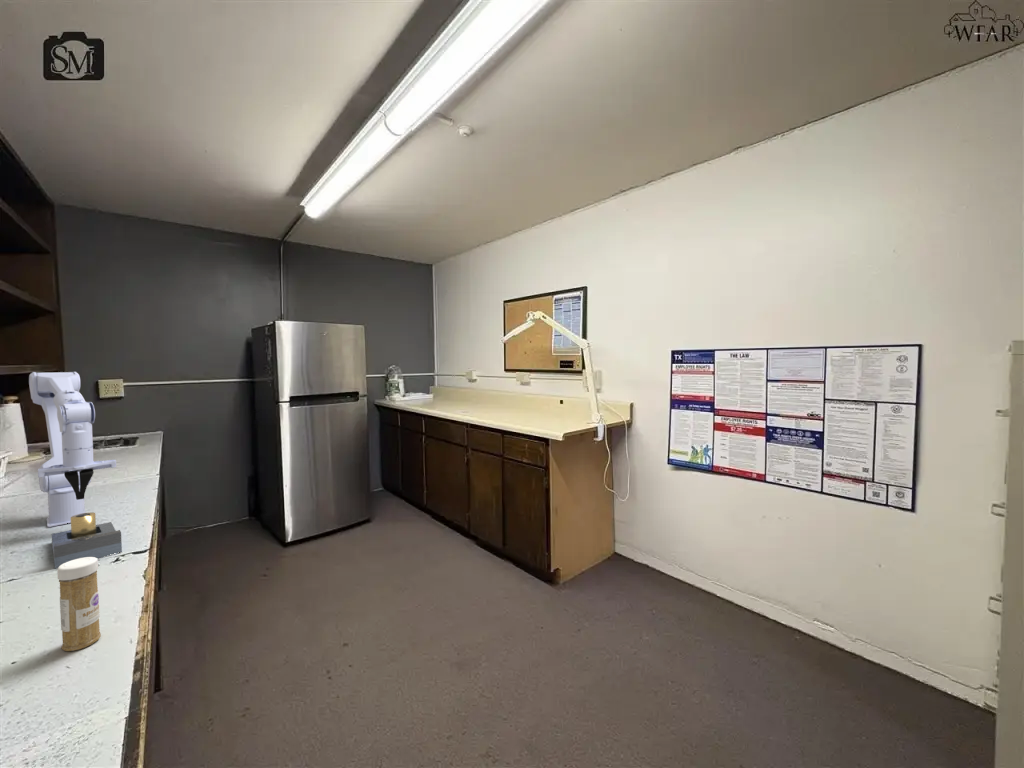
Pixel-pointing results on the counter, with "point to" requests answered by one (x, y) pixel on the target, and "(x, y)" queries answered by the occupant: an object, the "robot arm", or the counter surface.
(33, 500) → the counter surface
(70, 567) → the sprinkles bottle
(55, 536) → the plate
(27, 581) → the counter surface
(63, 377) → the robot arm
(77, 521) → the bushing
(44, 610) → the counter surface
